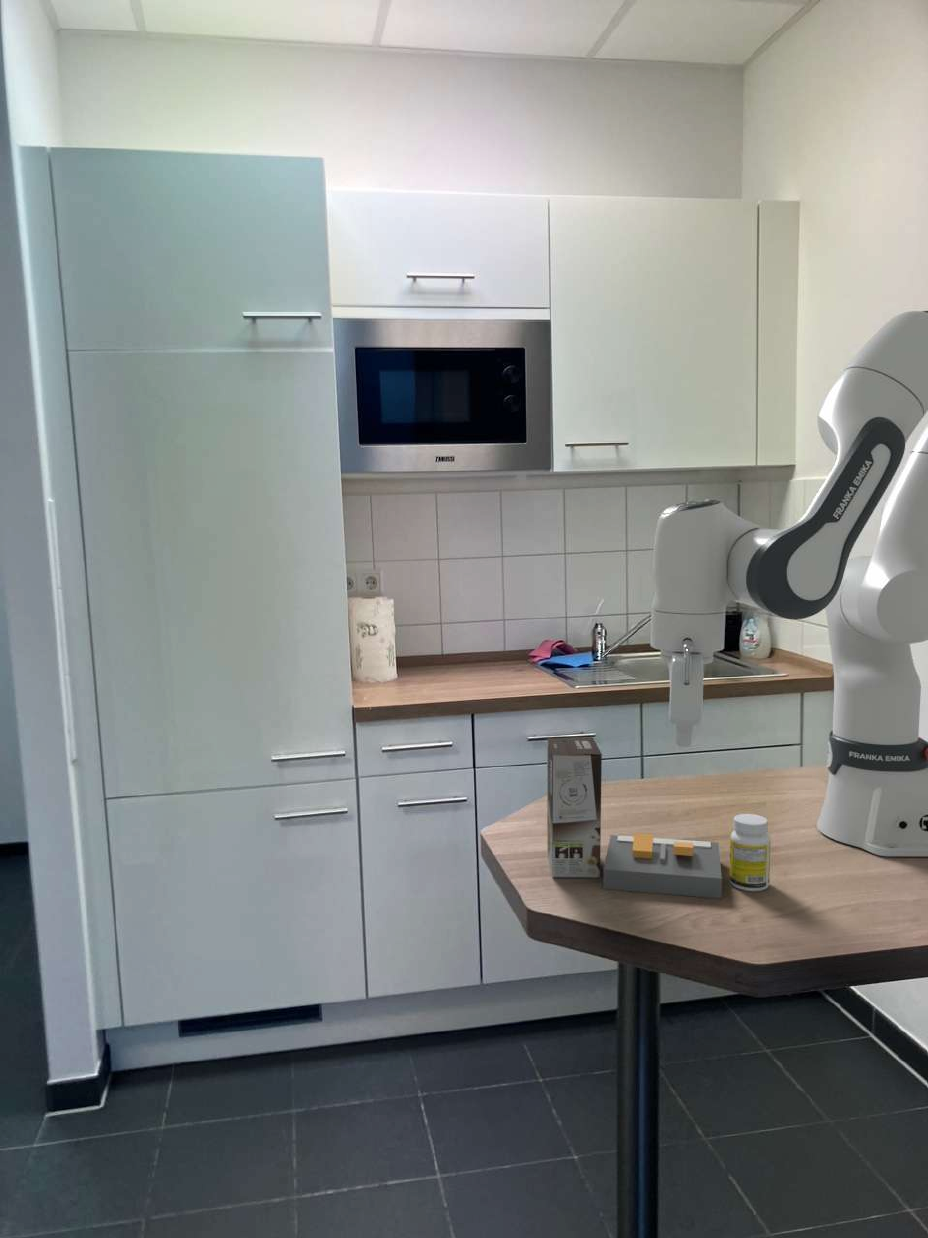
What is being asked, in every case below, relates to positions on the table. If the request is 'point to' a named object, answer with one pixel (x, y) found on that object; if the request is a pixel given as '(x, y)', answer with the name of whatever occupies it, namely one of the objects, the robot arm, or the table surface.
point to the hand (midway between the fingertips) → (683, 743)
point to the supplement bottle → (750, 853)
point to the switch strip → (664, 868)
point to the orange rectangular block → (683, 848)
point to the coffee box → (574, 806)
